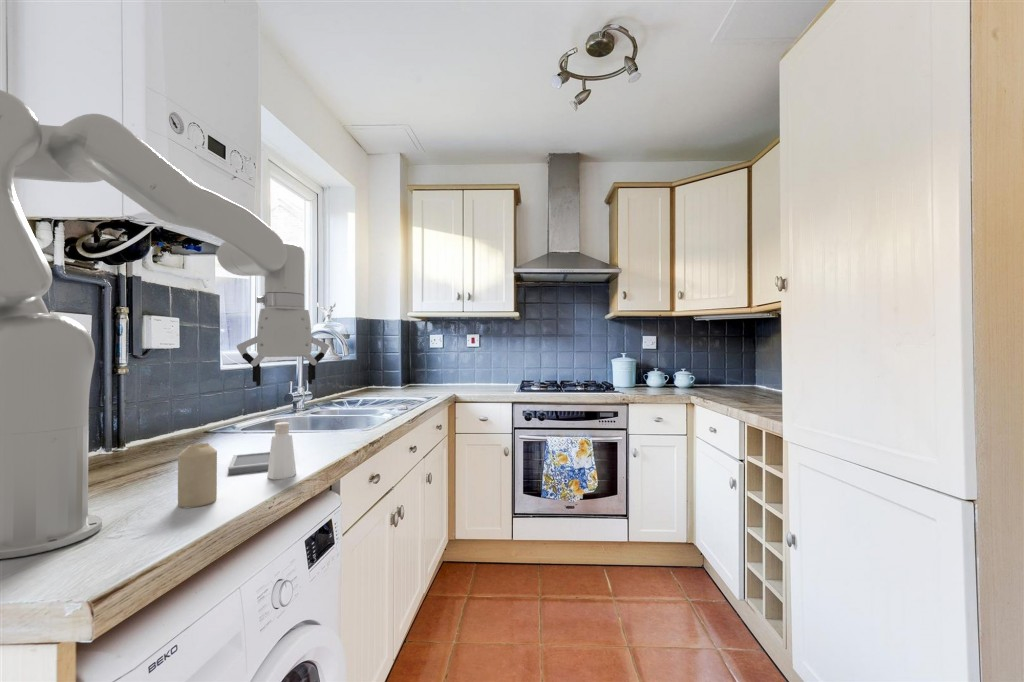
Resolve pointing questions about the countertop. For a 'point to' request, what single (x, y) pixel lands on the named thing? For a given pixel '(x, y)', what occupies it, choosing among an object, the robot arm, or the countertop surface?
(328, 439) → the countertop surface
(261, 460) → the tray
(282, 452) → the salt shaker
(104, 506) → the countertop surface
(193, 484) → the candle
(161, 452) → the countertop surface
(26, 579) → the countertop surface
